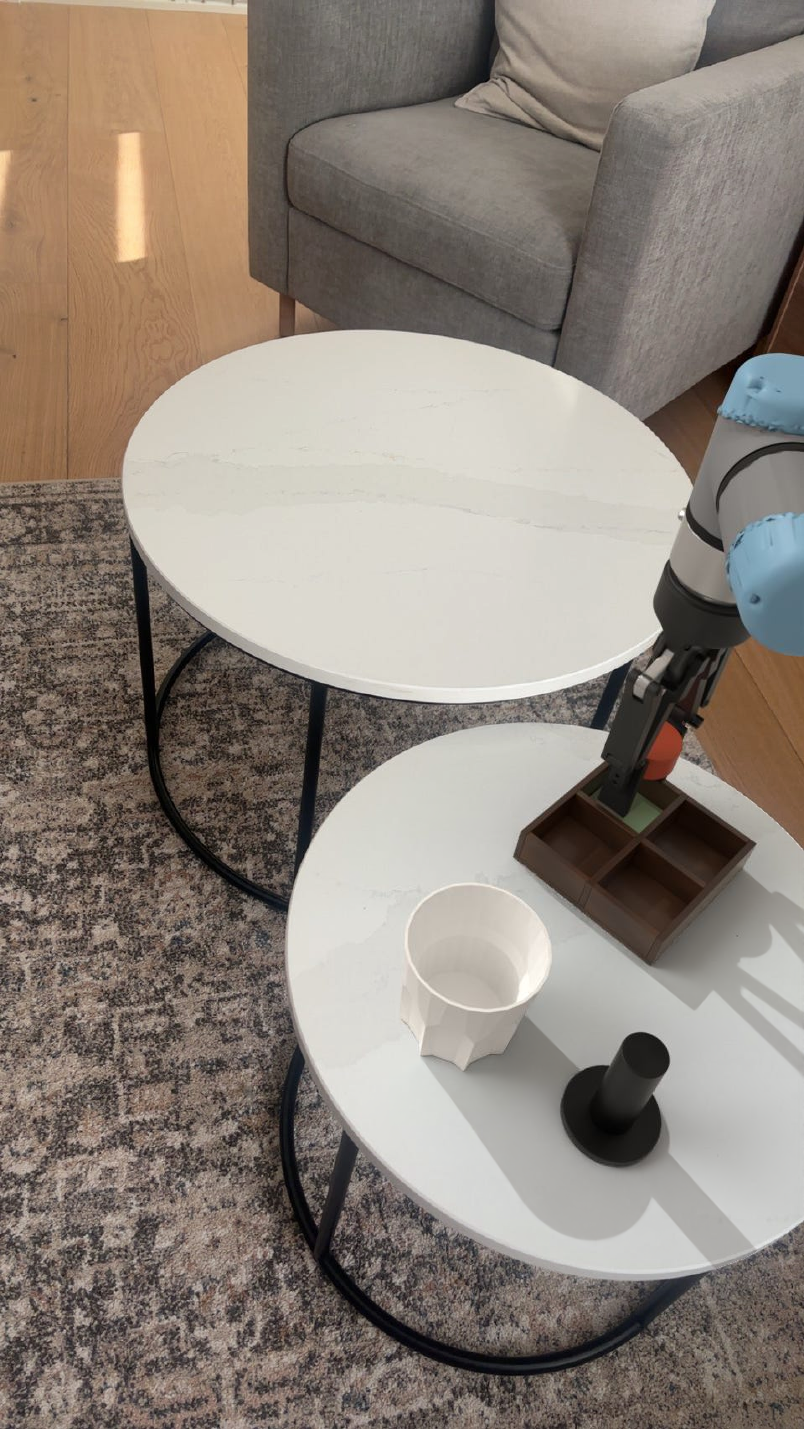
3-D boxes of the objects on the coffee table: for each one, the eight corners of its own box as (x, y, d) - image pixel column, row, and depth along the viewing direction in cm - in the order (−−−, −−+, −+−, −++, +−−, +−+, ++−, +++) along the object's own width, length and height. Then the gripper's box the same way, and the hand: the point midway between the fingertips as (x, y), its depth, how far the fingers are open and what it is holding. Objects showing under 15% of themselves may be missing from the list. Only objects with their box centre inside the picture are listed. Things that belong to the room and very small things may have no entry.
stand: (673, 1158, 75) (716, 1098, 68) (577, 1174, 73) (612, 1114, 67) (638, 1063, 80) (676, 998, 73) (548, 1076, 78) (577, 1011, 71)
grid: (743, 868, 93) (757, 843, 91) (650, 966, 85) (663, 942, 83) (610, 772, 99) (620, 746, 97) (512, 856, 91) (520, 830, 89)
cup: (548, 1049, 80) (579, 978, 72) (428, 1103, 76) (448, 1034, 69) (481, 940, 85) (504, 865, 78) (366, 984, 82) (379, 910, 74)
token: (683, 777, 89) (692, 758, 87) (626, 782, 88) (634, 762, 86) (661, 733, 92) (670, 713, 90) (606, 736, 91) (613, 717, 89)
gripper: (739, 504, 83) (654, 715, 99) (601, 600, 73) (532, 817, 89) (826, 552, 80) (724, 762, 96) (694, 659, 70) (605, 874, 86)
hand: (632, 788), depth 93 cm, fingers closed on token, 5 cm apart
